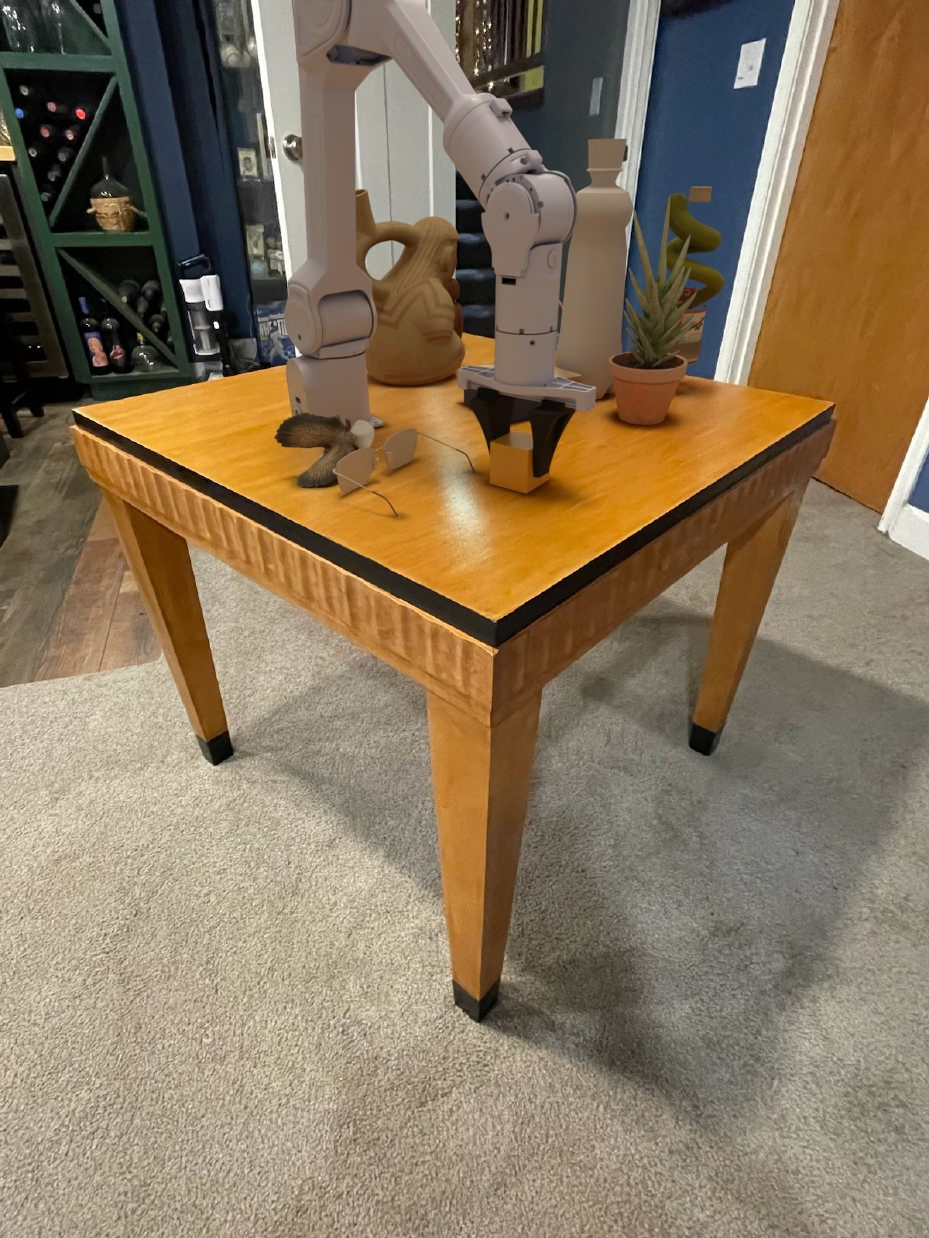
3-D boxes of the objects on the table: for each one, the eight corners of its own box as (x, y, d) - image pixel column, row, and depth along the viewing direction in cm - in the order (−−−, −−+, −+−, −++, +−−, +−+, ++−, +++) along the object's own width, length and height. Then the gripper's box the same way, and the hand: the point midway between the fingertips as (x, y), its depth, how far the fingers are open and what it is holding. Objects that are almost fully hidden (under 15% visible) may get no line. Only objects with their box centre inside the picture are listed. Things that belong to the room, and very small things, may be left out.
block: (526, 494, 69) (528, 450, 66) (489, 484, 71) (490, 441, 69) (549, 480, 72) (551, 438, 69) (513, 470, 74) (514, 429, 72)
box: (507, 425, 87) (508, 389, 84) (456, 403, 95) (455, 369, 93) (579, 409, 92) (582, 375, 90) (524, 389, 101) (525, 357, 98)
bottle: (541, 395, 98) (555, 139, 82) (572, 381, 104) (591, 141, 88) (598, 405, 94) (625, 137, 77) (628, 390, 100) (658, 139, 83)
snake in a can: (661, 375, 107) (689, 185, 93) (717, 388, 100) (756, 186, 86) (611, 388, 101) (634, 187, 87) (668, 403, 94) (702, 189, 80)
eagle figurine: (322, 441, 79) (262, 450, 72) (349, 392, 75) (288, 396, 68) (364, 488, 78) (307, 502, 71) (394, 441, 73) (337, 450, 66)
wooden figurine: (462, 350, 122) (462, 255, 113) (430, 350, 122) (427, 255, 114) (463, 342, 127) (463, 251, 119) (432, 342, 127) (430, 251, 119)
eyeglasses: (418, 457, 78) (419, 422, 75) (477, 477, 74) (479, 442, 72) (332, 499, 68) (330, 461, 66) (395, 524, 65) (395, 485, 62)
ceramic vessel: (491, 374, 108) (494, 186, 94) (394, 399, 97) (380, 191, 83) (421, 356, 118) (414, 185, 104) (326, 377, 107) (304, 188, 93)
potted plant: (588, 413, 91) (609, 194, 77) (645, 403, 94) (674, 192, 81) (637, 435, 83) (669, 197, 70) (696, 423, 87) (738, 195, 73)
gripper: (617, 330, 62) (601, 472, 70) (486, 314, 69) (484, 444, 77) (580, 344, 58) (567, 495, 65) (443, 325, 65) (446, 463, 72)
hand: (520, 469), depth 71 cm, fingers closed on block, 4 cm apart
